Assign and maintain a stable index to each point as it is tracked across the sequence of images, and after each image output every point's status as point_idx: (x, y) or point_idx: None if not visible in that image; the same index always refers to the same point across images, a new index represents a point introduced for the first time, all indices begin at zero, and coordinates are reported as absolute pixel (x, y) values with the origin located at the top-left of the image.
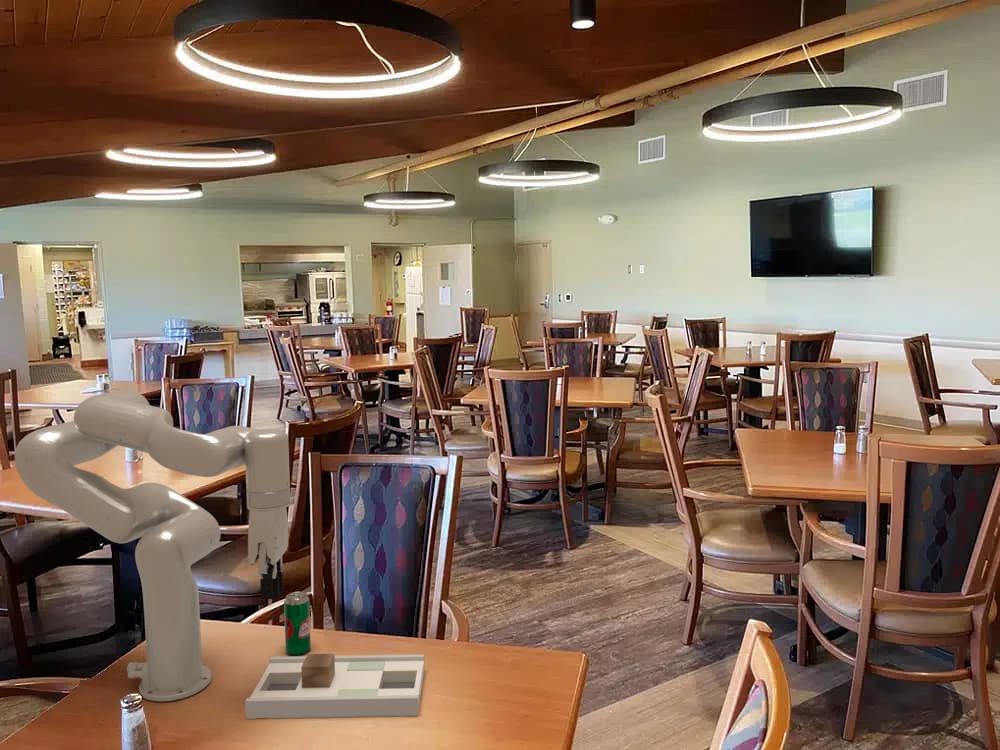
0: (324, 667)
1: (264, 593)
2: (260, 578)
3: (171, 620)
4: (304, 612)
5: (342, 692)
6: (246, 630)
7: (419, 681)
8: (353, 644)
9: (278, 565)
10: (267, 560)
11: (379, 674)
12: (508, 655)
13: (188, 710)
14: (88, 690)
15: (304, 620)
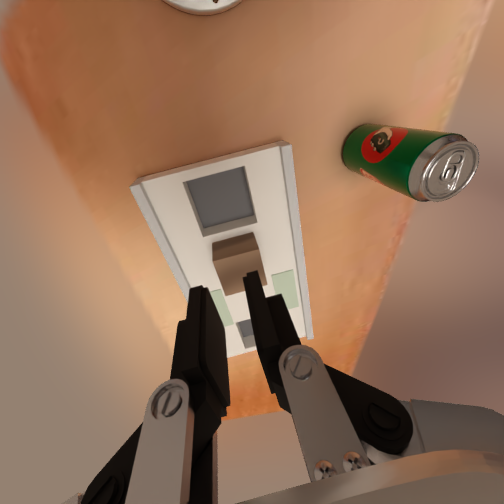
0: (223, 290)
1: (178, 326)
2: (154, 393)
3: None
4: (398, 191)
5: (213, 296)
6: None
7: None
8: (376, 226)
9: (296, 431)
10: (302, 443)
11: None
12: (339, 367)
13: (110, 33)
14: None
15: (386, 186)
